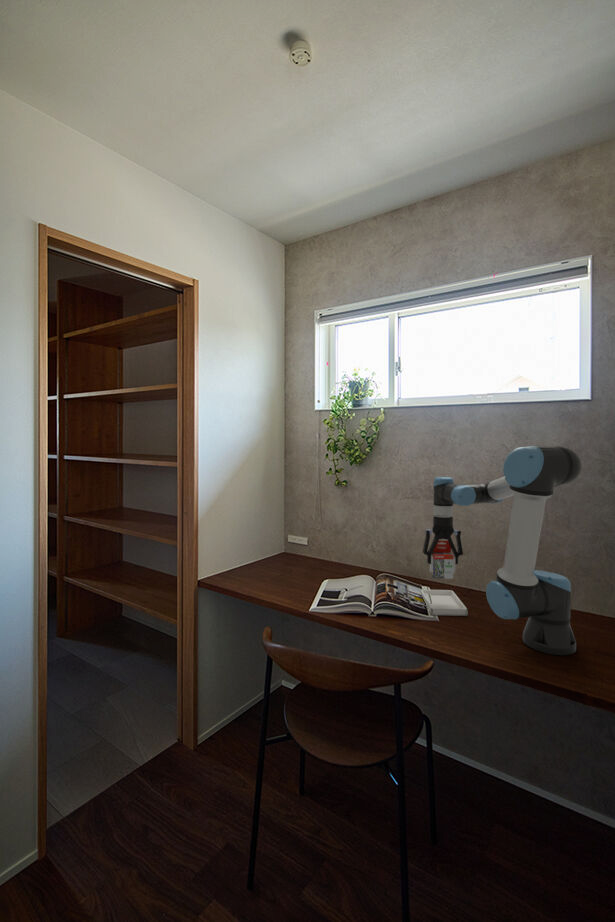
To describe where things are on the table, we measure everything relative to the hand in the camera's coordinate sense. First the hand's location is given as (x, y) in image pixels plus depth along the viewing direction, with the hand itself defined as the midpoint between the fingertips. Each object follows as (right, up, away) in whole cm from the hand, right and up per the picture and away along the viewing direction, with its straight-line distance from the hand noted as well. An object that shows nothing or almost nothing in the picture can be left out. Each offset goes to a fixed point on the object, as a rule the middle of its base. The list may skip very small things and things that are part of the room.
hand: (442, 571), depth 174 cm
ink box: (0, -2, 0) cm, 2 cm away
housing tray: (0, -13, 0) cm, 13 cm away
